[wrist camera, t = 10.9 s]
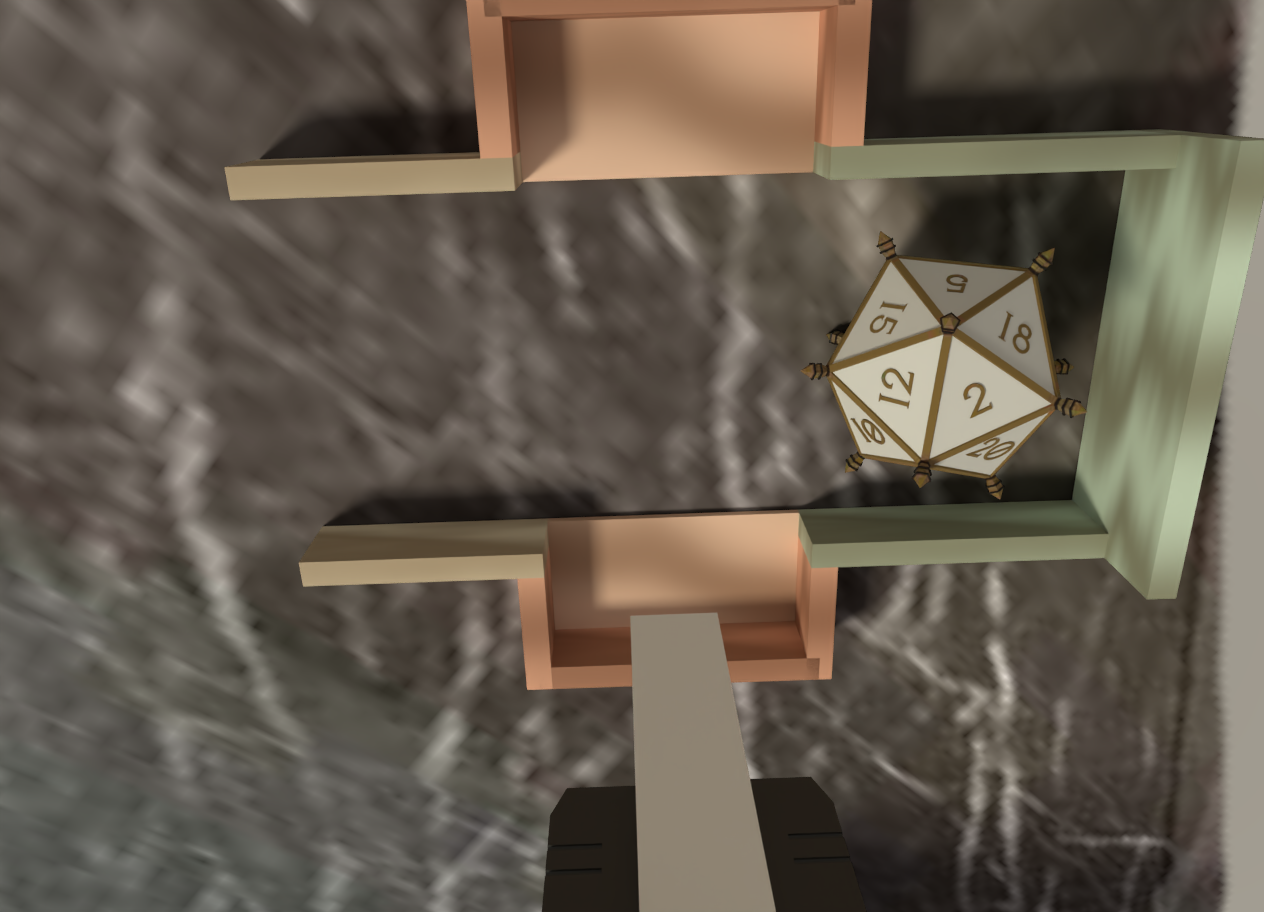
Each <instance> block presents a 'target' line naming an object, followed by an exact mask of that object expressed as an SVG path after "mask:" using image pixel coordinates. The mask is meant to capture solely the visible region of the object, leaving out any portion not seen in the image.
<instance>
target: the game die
mask: <svg viewBox="0 0 1264 912" xmlns="http://www.w3.org/2000/svg"><path fill="white" fill-rule="evenodd" d="M892 240H893V238H890V237H888V236H887V235H885V234H884V233H882V232H881V231H880V235H879V241H878V245H877V247H879V249H880V251H881V252H880V254H883V255H884V256H885V257H886V262H885V263H884V265H883V267H882V269H881V270H880V272H879V274H878V276H877V277H876V279H875V281H874V283H873V284H872V286H871V288H870V290H869V291H868V293H867V295H866V297H865V298H864V300H863V302H862V304H861V305H860V307H859V309H858V311H857V312H856V314H855V316H854V318H853V319H852V321H851V323H850V325H849V327H848V328H847V330H846V332H845V334H844V333H843V331H841V332H839V331H838V329H836V330H835V331H833V332H831V333H829V334H827V337H828V339H829V343H832V344H837V345H838V346H837V348H836V349H835V351H834V353H833V355H832V356H831V358H830V360H829V362H828V363H827V365H826V366H824V365H822V363H818V364H815V363H809V365H808V366H807V367H805V368H804V369H802V370H801V372H803V373H804V374H806V375H807V376H809V377H810V378H811V380H813V379H814V378H818V380H819V379H820V378H821V377H824V376H827V378H828V381H829V383H830V385H831V388H832V390H833V393H834V395H835V397H836V400H837V402H838V404H839V407H840V409H841V412H842V414H843V416H844V419H845V421H846V424H847V426H848V428H849V431H850V433H851V436H852V438H853V440H854V443H855V445H856V448H857V450H858V451H857V453H856V454H854V455H850V458H849V459H846V469H845V473H846V472H850V471H857V470H858V468H859V466H862V463H863V462H862V461H863V459H865V458H866V459H872V460H878V461H884V462H890V463H896V464H902V465H908V466H914V467H917V468H916V469H915V470H914V473H915V474H914V475H913V477H912V479H914V480H915V481H916V483H917V484H918V486H919V487H920V488H921V487H922V486H923V485H925V484H926V483H927V482H931V478H930V476H932V473H931V470H930V469H932V470H938V471H944V472H950V473H955V474H961V475H967V476H973V477H979V478H985V479H986V481H987V483H986V488H988V493H989V494H992V495H993V496H995V497H997V498H998V499H1001V495H1002V491H1003V488H1004V487H1005V486H1002V484H1001V482H1002V481H1001V480H999V479H998V478H997V477H996V475H995V474H996V473H997V472H998V471H999V470H1000V468H1001V467H1002V466H1003V465H1004V464H1005V463H1006V462H1007V461H1008V460H1009V459H1010V458H1011V457H1012V456H1013V455H1014V454H1015V453H1016V451H1017V450H1018V449H1019V448H1020V447H1021V446H1022V445H1023V444H1024V443H1025V442H1026V441H1027V440H1028V439H1029V438H1030V437H1031V436H1032V434H1033V433H1034V432H1035V431H1036V430H1037V429H1038V428H1039V427H1040V426H1041V425H1042V424H1043V423H1044V422H1045V421H1046V420H1047V418H1048V417H1049V416H1050V415H1051V414H1052V413H1053V412H1054V411H1055V410H1060V411H1061V412H1062V414H1063V415H1066V414H1067V415H1070V418H1072V417H1074V416H1076V415H1079V414H1083V413H1087V411H1086V409H1085V408H1084V407H1083V406H1082V405H1081V404H1080V403H1081V401H1078V400H1075V399H1074V401H1073V399H1070V398H1066V399H1061V396H1060V390H1059V385H1058V380H1057V375H1056V374H1068V372H1069V371H1070V370H1071V369H1073V368H1074V366H1072V365H1071V364H1069V362H1068V361H1067V360H1066V359H1065V358H1063V359H1062V360H1059V359H1057V360H1056V361H1054V360H1053V354H1052V349H1051V344H1050V339H1049V334H1048V329H1047V324H1046V318H1045V313H1044V308H1043V303H1042V298H1041V293H1040V288H1039V282H1038V277H1037V275H1038V274H1039V273H1040V272H1042V271H1043V270H1045V271H1046V270H1047V269H1046V268H1047V267H1048V266H1049V265H1050V264H1051V265H1053V263H1052V260H1053V255H1054V250H1055V248H1053V249H1050V250H1047V251H1044V252H1042V253H1040V252H1039V253H1038V256H1037V257H1036V258H1035V259H1033V263H1032V265H1031V267H1029V268H1021V267H1011V266H1001V265H991V264H981V263H971V262H962V261H952V260H942V259H932V258H922V257H912V256H902V255H896V253H895V247H896V245H894V244H893V241H892Z"/></svg>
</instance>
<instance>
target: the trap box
mask: <svg viewBox="0 0 1264 912" xmlns="http://www.w3.org/2000/svg"><path fill="white" fill-rule="evenodd" d="M466 1H467V12H468V24H469V35H470V46H471V58H472V69H473V80H474V92H475V103H476V114H477V126H478V137H479V148H480V152H468V153H438V154H409V155H379V156H349V157H319V158H290V159H260V160H254V161H250V162H245V163H241V164H237V165H232V166H228V167H224V168H225V173H226V179H227V184H228V189H229V195H230V200H251V199H281V198H310V197H340V196H369V195H399V194H429V193H458V192H488V191H515V190H516V189H517V188H518V187H519V185H520V184H521V183H522V182H533V181H563V180H593V179H622V178H652V177H682V176H711V175H741V174H770V173H800V172H814V173H816V174H818V175H820V176H823V177H825V178H827V179H829V180H843V179H873V178H902V177H932V176H961V175H991V174H1021V173H1050V172H1080V171H1109V170H1126V171H1125V177H1124V183H1123V189H1122V195H1121V201H1120V207H1119V214H1118V220H1117V226H1116V232H1115V238H1114V244H1113V250H1112V257H1111V263H1110V269H1109V275H1108V281H1107V287H1106V293H1105V300H1104V306H1103V312H1102V318H1101V324H1100V330H1099V336H1098V343H1097V349H1096V355H1095V361H1094V367H1093V373H1092V379H1091V386H1090V392H1089V398H1088V404H1087V410H1086V411H1087V413H1086V416H1085V422H1084V429H1083V435H1082V441H1081V447H1080V453H1079V459H1078V465H1077V472H1076V478H1075V484H1074V490H1073V496H1072V500H1056V501H1028V502H999V503H971V504H943V505H915V506H886V507H858V508H830V509H801V510H773V511H745V512H716V513H688V514H660V515H631V516H603V517H575V518H546V519H518V520H490V521H461V522H433V523H405V524H377V525H348V526H322V528H321V529H320V531H319V533H318V534H317V536H316V537H315V539H314V540H313V542H312V543H311V545H310V546H309V548H308V549H307V551H306V552H305V554H304V555H303V557H302V559H301V560H300V562H299V566H300V572H301V577H302V582H303V586H326V585H354V584H383V583H411V582H439V581H467V580H495V579H518V590H519V602H520V613H521V624H522V636H523V647H524V658H525V669H526V681H527V690H537V689H565V688H593V687H620V686H632V655H631V623H630V616H636V615H663V614H691V613H717V614H718V619H719V624H720V629H721V634H722V639H723V644H724V650H725V655H726V660H727V665H728V670H729V675H730V680H731V682H759V681H787V680H814V679H831V677H832V660H833V643H834V627H835V610H836V593H837V577H838V567H860V566H888V565H916V564H944V563H973V562H1001V561H1029V560H1057V559H1085V558H1105V559H1106V560H1107V561H1108V562H1109V563H1110V564H1111V565H1112V566H1113V567H1114V568H1115V569H1116V570H1117V571H1119V572H1120V573H1121V574H1122V575H1123V576H1124V577H1125V578H1126V579H1127V580H1128V581H1129V582H1130V583H1131V584H1132V585H1133V586H1134V587H1135V588H1136V589H1137V590H1138V591H1139V592H1140V593H1141V594H1142V595H1143V596H1144V597H1145V598H1146V599H1172V598H1176V596H1177V591H1178V587H1179V582H1180V578H1181V573H1182V568H1183V564H1184V559H1185V555H1186V550H1187V546H1188V541H1189V537H1190V532H1191V527H1192V523H1193V518H1194V514H1195V509H1196V505H1197V500H1198V495H1199V491H1200V486H1201V482H1202V477H1203V473H1204V468H1205V463H1206V459H1207V454H1208V450H1209V445H1210V441H1211V436H1212V431H1213V427H1214V422H1215V418H1216V413H1217V409H1218V404H1219V399H1220V395H1221V390H1222V386H1223V381H1224V377H1225V372H1226V367H1227V363H1228V358H1229V354H1230V349H1231V345H1232V340H1233V336H1234V331H1235V326H1236V322H1237V317H1238V313H1239V308H1240V304H1241V299H1242V294H1243V290H1244V285H1245V281H1246V276H1247V272H1248V267H1249V262H1250V258H1251V253H1252V249H1253V244H1254V239H1255V235H1256V230H1257V226H1258V221H1259V217H1260V212H1261V207H1262V203H1263V198H1264V139H1263V138H1252V137H1241V136H1230V135H1219V134H1208V133H1197V132H1186V131H1175V130H1164V129H1153V130H1123V131H1093V132H1063V133H1034V134H1004V135H974V136H944V137H915V138H885V139H864V127H865V110H866V94H867V77H868V60H869V44H870V27H871V10H872V0H466Z"/></svg>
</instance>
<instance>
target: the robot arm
mask: <svg viewBox="0 0 1264 912" xmlns="http://www.w3.org/2000/svg"><path fill="white" fill-rule="evenodd" d="M630 623H631V655H632V687H633V720H634V752H635V784H636V786H617V787H590V788H567V789H566V791H565V792H564V794H563V796H562V797H561V799H560V801H559V802H558V804H557V805H556V807H555V809H554V810H553V812H552V813H551V815H550V826H549V837H548V851H547V860H546V876H545V883H544V894H543V906H542V912H867V911H866V908H865V905H864V902H863V898H862V895H861V892H860V889H859V885H858V882H857V879H856V875H855V872H854V869H853V866H852V862H850V856H849V853H848V849H847V846H846V843H845V840H844V838H843V836H842V830H841V826H840V823H839V820H838V817H837V813H836V810H835V807H834V804H833V802H832V800H831V799H830V798H829V797H828V796H827V795H826V794H825V792H824V791H823V790H822V789H821V788H820V787H819V786H818V785H817V783H816V782H815V781H814V780H813V779H812V778H811V777H796V778H770V779H750V777H749V772H748V767H747V762H746V757H745V751H744V746H743V741H742V736H741V731H740V726H739V721H738V716H737V711H736V706H735V700H734V695H733V690H732V685H731V680H730V675H729V670H728V665H727V660H726V655H725V650H724V644H723V639H722V634H721V629H720V624H719V619H718V614H717V613H691V614H663V615H636V616H630Z"/></svg>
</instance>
